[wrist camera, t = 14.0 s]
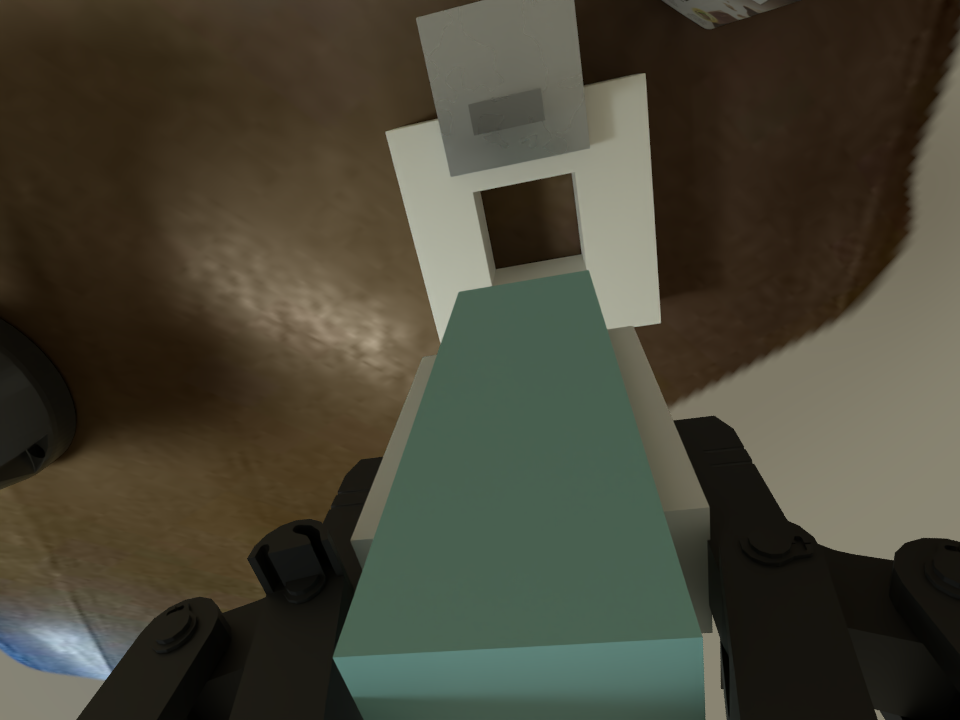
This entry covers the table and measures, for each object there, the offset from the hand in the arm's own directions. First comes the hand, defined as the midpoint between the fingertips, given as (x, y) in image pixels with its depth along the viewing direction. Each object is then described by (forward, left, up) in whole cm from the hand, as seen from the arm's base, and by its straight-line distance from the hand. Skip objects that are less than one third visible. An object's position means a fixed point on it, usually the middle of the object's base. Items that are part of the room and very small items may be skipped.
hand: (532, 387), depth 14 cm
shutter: (0, +7, -17) cm, 18 cm away
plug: (0, 0, -3) cm, 3 cm away
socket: (0, 0, -20) cm, 20 cm away
